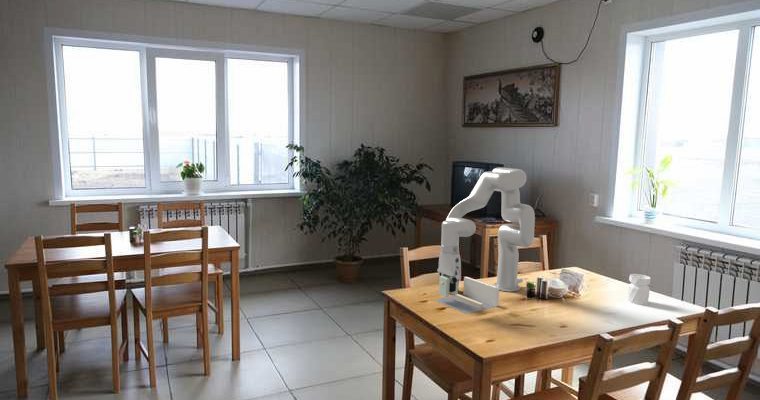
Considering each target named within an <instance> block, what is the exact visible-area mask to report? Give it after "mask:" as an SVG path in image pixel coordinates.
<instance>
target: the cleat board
mask: <svg viewBox="0 0 760 400" xmlns="http://www.w3.org/2000/svg"><path fill="white" fill-rule="evenodd" d="M499 298H500V290H499V288H498V287H495V286H493V285H492V284H489V283H486V282H482V281H480V280H477V279H474V278H472V277H468V276H463V291H462V293H461V294H459V293H458V294H457V295H452V296H448V297H443V298H441V297H440V298H438V299H437V298H436V299H434V301H435V302H438V303H440V304H441V305H444V306H446V307H449V308H452V309H454V310H456V311H458V312H461V313H463V314H465V315H467V314H472V313H475V312H480V311H484V310H487V309H493V308H497V307H499Z"/></svg>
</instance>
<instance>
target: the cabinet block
mask: <svg viewBox="0 0 760 400" xmlns="http://www.w3.org/2000/svg"><path fill="white" fill-rule="evenodd" d="M438 279H439V282H438V295H440V296H443V298H446V297H450V294H451V295H452V296H454V295H457V294H459V286H458V281H457V283H456V291H454V292H450V291H449V289H450V283H451V281H450V276H448V275H445V276H440V275H439V277H438ZM453 279H454V277H453Z"/></svg>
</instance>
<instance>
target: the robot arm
mask: <svg viewBox="0 0 760 400" xmlns="http://www.w3.org/2000/svg"><path fill="white" fill-rule="evenodd" d="M526 182H527V174H526V172H525V171H524V170H523V169H521V168H520V169H519V168H512V167H495V168H493V169H492V170H491V171H484V172H483V173H482V174H481V175H480V177H479V178H478V179H477V182H476V184H475V185H474V187H473V188H472V189H471V192H470V193H469V196H467V197H466V198H464V199H463V200H461V201H459V202H458V203H456V204H455V206H453V207H452V209H451V210H450V212H449V213H448V215H447V217H446V218H445V220H443V221H442V222H441V236H440V238H441V239H440V240H441V242H440V244H441V245H440V253H439V255H438V256H439V257H438V268H437V269H436V270H437V271H436V272H437V273H438V275H439V277H440V276H445V275H448V276H450V281H451V283H450V289H449V291H450V292H454V291H456V283H457V281H458V280H459V281H460V280H461V279H462V260H461V255H460V252H459V251H460V248H459V247H460V246H459V245H460V244H459V243H460V238H461V237H463V238H464V237H465V238H467V237H471V236H473V235H474V234H475V233H476V230H477V225H476V223H475V222H474V221H473V220H472V219H468V218H463V217H464V216H465V215H467V213H470V212H473V211H476V210H480V209H482V208H484V207H486V206H487V205H488V202H489V200H490V199H491V197H492V195H493V193H494V192H495V191H496V192H500V193H501V214H500V215H501V217H502V218H501V219H502V220H503V221H505V222H508V223H505V224H502V225H501V226H499V228H498V230H497V240H498V242H497V243H498V257H497V274H496V282H495V283H493V285H492V286H495V287H498V288H499V291H501V292H502V291H503V292H518V291H520V289H521V287H520V285H519V283H523V282H524V280H523V278H518V273H519V272H518V271H519V270H518V269H519V255H520V254H519V248H518V247H521V248H529V247H531V246H532V245H533V244H534V243H533V242H534V239H535V223H536V220H535V219H536V216H535V214H536V213H535V210H534V208H533V206H531V205H529V204H525V203H521V192H520V188H522V187H523V186H524V185H525V184H526ZM511 223H514V224H511ZM516 224H517V225H516ZM518 224H519V225H518ZM453 277H454V279H453Z"/></svg>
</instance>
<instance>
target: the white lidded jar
mask: <svg viewBox="0 0 760 400" xmlns="http://www.w3.org/2000/svg"><path fill="white" fill-rule="evenodd" d="M651 280H652V279H651V277H650V276H648V275H645V274H639V273H630V274H629V278H628V281H629V282H630V284H628V289H627V302H628V301H630V302H631V303H630V302H629V303H630V304H633V303H634V304H635V305H638V306H639V305H640V306H646V305H648V304H649V298H650V297H649V296H650V290H651V289H650V287H649V285H650V284H651ZM634 304H633V305H634Z"/></svg>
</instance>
